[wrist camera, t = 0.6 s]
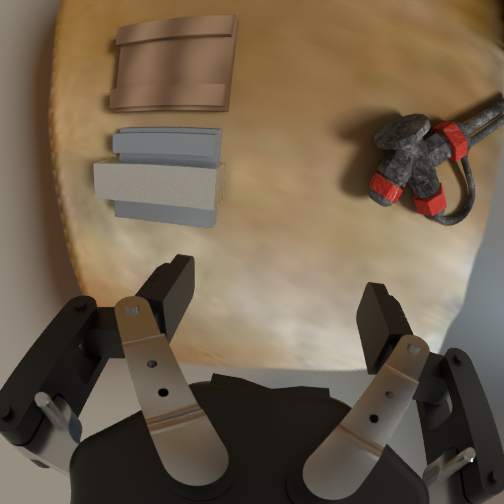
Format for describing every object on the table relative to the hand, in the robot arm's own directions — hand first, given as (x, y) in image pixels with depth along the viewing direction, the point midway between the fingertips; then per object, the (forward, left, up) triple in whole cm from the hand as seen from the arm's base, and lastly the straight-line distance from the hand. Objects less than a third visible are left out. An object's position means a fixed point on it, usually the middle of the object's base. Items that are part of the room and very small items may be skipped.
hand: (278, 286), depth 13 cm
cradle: (-13, -14, -20) cm, 27 cm away
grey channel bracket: (0, -14, -20) cm, 24 cm away
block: (0, -14, -19) cm, 23 cm away
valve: (-8, +20, -21) cm, 30 cm away
